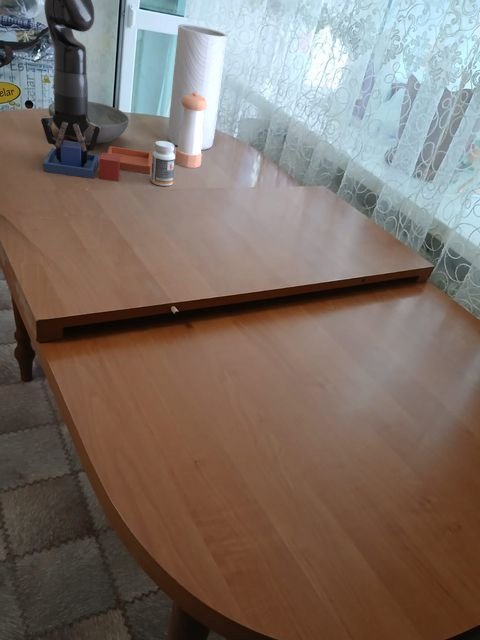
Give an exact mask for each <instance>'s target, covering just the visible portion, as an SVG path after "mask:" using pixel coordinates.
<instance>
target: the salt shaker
mask: <svg viewBox="0 0 480 640" xmlns="http://www.w3.org/2000/svg"><path fill="white" fill-rule="evenodd" d="M182 105H183V107H184V111H183V120H182V126H181V130H180V133H179V140H178V146H177V148H176V150H175V164H177V165H178V166H181V167H183V168H188V169H190V168H191V169H196V168H200V167H201V166H202V165H201V164H202V159H203V158H202V156H203V152H202V150H201V147H202V123H203V114H204V110H206V108H207V106H208V105H207V101H206V99H205V98H203V97H202V96H200V95H199V94H198V93H197V92H193V94H187V95H185V96H184V97H183V98H182Z"/></svg>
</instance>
